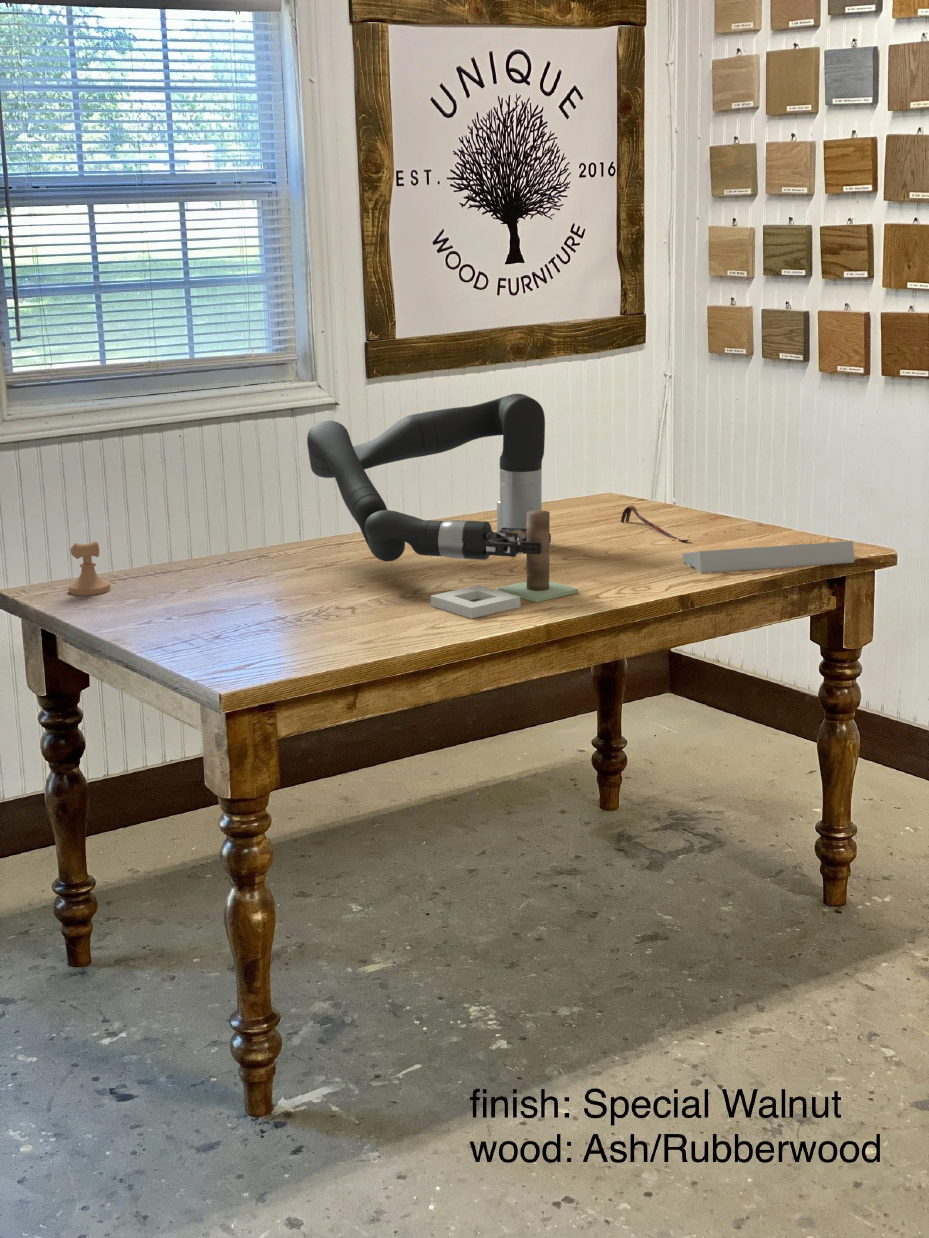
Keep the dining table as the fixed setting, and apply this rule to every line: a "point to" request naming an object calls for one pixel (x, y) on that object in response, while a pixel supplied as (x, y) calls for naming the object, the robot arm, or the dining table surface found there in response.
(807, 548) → the decorative molding
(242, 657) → the dining table surface
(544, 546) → the walnut post
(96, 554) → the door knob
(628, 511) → the crowbar
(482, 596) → the hole plate
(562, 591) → the pad
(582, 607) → the dining table surface
